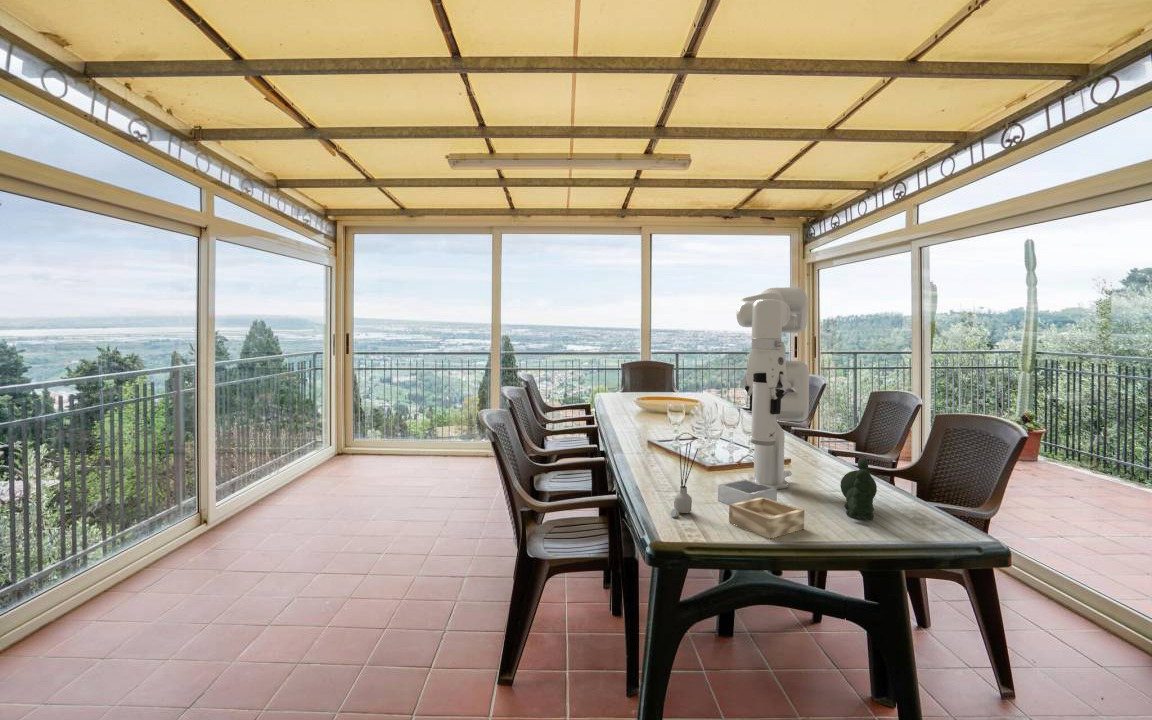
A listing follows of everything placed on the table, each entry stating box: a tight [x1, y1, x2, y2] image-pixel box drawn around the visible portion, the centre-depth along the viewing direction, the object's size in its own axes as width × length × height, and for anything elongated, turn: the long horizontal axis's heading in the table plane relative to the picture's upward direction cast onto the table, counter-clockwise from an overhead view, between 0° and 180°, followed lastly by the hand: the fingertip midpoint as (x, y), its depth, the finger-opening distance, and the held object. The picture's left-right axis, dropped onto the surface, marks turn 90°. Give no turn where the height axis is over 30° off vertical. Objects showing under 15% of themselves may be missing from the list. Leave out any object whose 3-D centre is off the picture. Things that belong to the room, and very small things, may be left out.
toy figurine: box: [840, 457, 878, 521], centre depth 155 cm, size 9×19×25 cm
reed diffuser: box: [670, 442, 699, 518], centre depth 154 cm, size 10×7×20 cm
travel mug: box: [750, 373, 777, 446], centre depth 147 cm, size 6×7×20 cm
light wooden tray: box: [728, 497, 805, 540], centre depth 145 cm, size 13×13×5 cm
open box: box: [717, 478, 778, 505], centre depth 164 cm, size 12×12×5 cm
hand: (764, 411), depth 147 cm, fingers closed on travel mug, 6 cm apart
